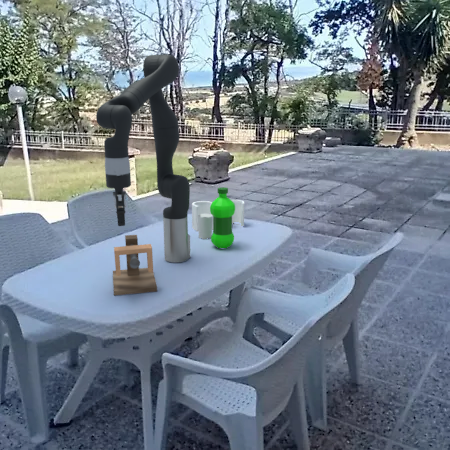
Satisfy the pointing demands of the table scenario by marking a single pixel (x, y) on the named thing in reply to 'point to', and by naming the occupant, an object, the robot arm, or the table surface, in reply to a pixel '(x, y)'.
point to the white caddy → (204, 208)
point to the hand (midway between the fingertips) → (121, 221)
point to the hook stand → (133, 274)
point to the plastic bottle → (222, 219)
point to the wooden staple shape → (133, 250)
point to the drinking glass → (205, 226)
